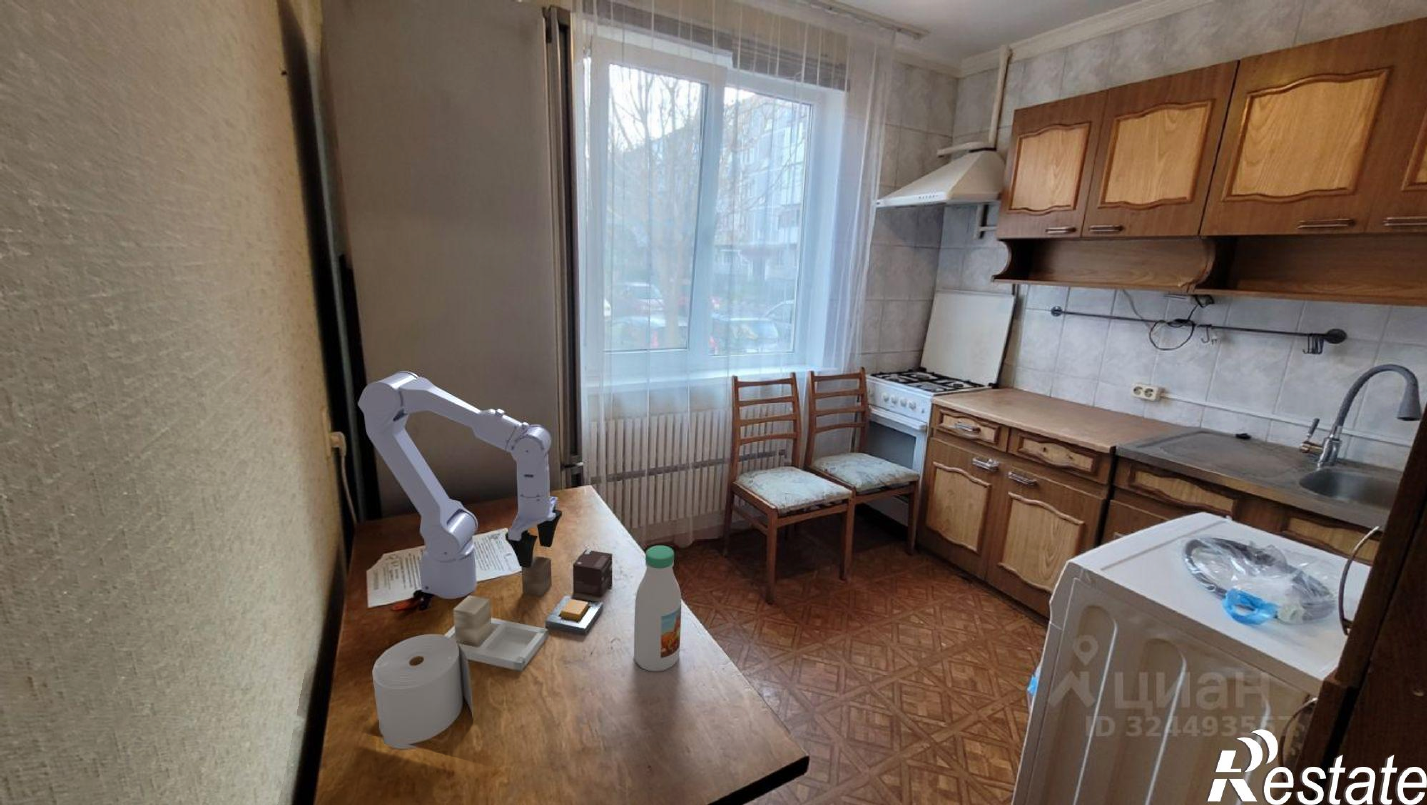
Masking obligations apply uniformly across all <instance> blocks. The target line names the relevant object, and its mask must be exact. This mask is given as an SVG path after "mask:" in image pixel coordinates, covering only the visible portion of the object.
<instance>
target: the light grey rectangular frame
mask: <svg viewBox="0 0 1427 805" xmlns="http://www.w3.org/2000/svg"><path fill="white" fill-rule="evenodd" d="M491 627H492V634H491V635H490V636H489V637H488V638H487V639H486V640H485V641H484V642H483V644H482V645H481V646H480V647H479V648H477V647H473V646H468V645H464V644H459V643H457V644H458V645H459V646H460V647H461V648H462V650H463V651H464V652H465V656H466V657H467V660H468V661H474V662H479V663H483V664H487V665H492V666H496V667H499V668H506V669H510V670H514V671H519V672H522V671H523V670H524V669H525V668H526V667H527V664H529V663H530V662H531V660H532V658H533V657H534V656H535V655H536V653H537V652H538V651H539V650H540V648H541V647H542V646H543V644H544V643H545V642H546V640H547V639H548V638H549V628H544V627H539V626H533V625H529V624H524V623H520V622H514V621H509V620H504V619H500V618H494V617H491ZM444 636H448V637H449V638H451V639H453V640H454V641H455V642H456V636H455V624H454V625H453V626H452V627H451V628H450V629H449V630H448V631H447V632H446V633H445V634H444Z"/></svg>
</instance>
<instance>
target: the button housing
mask: <svg viewBox="0 0 1427 805" xmlns="http://www.w3.org/2000/svg"><path fill="white" fill-rule="evenodd" d="M570 599H573V600H578V601H584V602H588V611H587V613H586V614H585V616H584V617H583V618H582V620H581V621H578V620H573V619H568V618H563V617H561V610H562V609H563V608H564V606H565V605H566V604H567V602H568V601H569V600H570ZM603 610H604V602H602V601H596V600H591V599H587V598H582V597H576V596H570V595H565V596H563V598H562V599H561V600H560V602H559V603H558V604H557V605H556V607H554V608H553V610H552V611H551V612H550V614H549V615H548V616H547V617H546V619H545V620H544V622H545V623H544V624H545V628H544V629H548V630H555V631H560V632H565V633H568V634H569V633H570V634H573V635H579V636H583V637H584V636H586V635H587V634H588V633H589V631H590V630H591V628H592V627H593V625H594V624H595V623H596V620H598V618H599V616H600V615H601V613H602V612H603Z"/></svg>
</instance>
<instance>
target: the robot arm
mask: <svg viewBox="0 0 1427 805" xmlns="http://www.w3.org/2000/svg"><path fill="white" fill-rule="evenodd" d="M357 405H358V407H359V409H360V410H361V411H362V413H363V416H364V424H365V431H366V435H367V436H368V438H369V440H370V441H371V443H372V444H373V446H374V447H375V448H376V450H377V452H378V453H379V455H380V456H381V458H382V459H383V461H384V462H385V464H386V465H387V466H388V468H389V470H390V471H391V473H392V474H393V475H394V477H395V479H396V481H398V483H399V484H400V486H401V487H402V489H403V491H404V493H406V496H407V497H408V498H409V499H410V501H411V503H412V504H413V506H414V508H415V509H416V511H417V512H418V513H419V515H420V517H421V518H420V527H419V534H420V535H421V536H422V539H423V540H424V547H425V551H424V552H423V554H422V556H421V558H420V562H419V566H418V567H419V578H420V588H421V592H423V593H427V594H432V595H435V596H437V597H439V598H440V599H445V600H446V599H448V600H453V599H458V598H463V597H466V596H469V594H471V593H472V592H474V591H475V589H476V588H477V585H478V583H477V570H476V569H477V568H476V567H477V566H476V558H475V557H476V554H475V543H474V541H473V540H474V538H473V536H474V535H475V534H476V532H477V531H478V527H479V523H478V519H477V517H476V516H475V515H474V513H472V512H471V511H469V510H468V509H467V508H465V507H464V506H463V504H462V502H461V501H458V500H454V499H451V498H450V497H449V495H448V494H447V493H446V491H445V489H444V488H443V486H442V484H441V483H440V481H439V480H438V479H437V477H436V476H435V474H434V472H433V471H432V469H431V468H430V466H429V465H428V463H427V462H426V460H425V458H424V457H423V456H422V453H420V451H419V449H418V448H417V446H416V444H415V443H414V441H413V440H412V438H411V437H410V435H409V433H408V431H406V428H405V427H406V424H407V421H408V419H409V416H410V414H413V413H419V412H424V411H429V412H431V413H434V414H436V415H439V416H441V417H443V418H446V419H449V420H452V421H454V422H457V423H458V424H459V423H460V424H462V425H463V426H466V427H469V428H471V429H472V431H473V434H474V436H475V437H476V438H478V439H480V440H482V441H484V442H486V443H488V444H490V445H493V446H494V447H497V448H498V449H501V450H503V451H505V452H508V453H510V455H511V457H512V459H513V460H514V462H516V484H517V508H518V512H517V513H516V516H515V517H514V518H515V519H514V520H513V523H512V524H511V526H510V527H509V528H508V529H507V532H506V533H505V534H504V537H505V541H506V542H507V543H508V544H509V545H510V546H511V549H512V550H513V552H514V554H515V556H516V559H517V562H518V563H517V564H518V565H519V567H526V568H530V567H531V565H532V560H533V556H534V549H535V544H536V542H537V539H538V542H539V545H540V547H545V548H551V547H552V544H553V541H554V537H555V533H556V529H557V526H558V524H559V521H560V519H561V517H562V515H563V511H562V510H561V509H557V508H558V507H559V498H558V497H556V496H551V491H550V466H549V454H548V451H549V450H550V448H551V445H552V436H551V434H550V432H549V431H548V429H546V428H544V427H543V426H542V425H541V424H529V423H527V422H525V421H524V422H521V421H518V420H517V419H515V418H513V417H510V416H508V415H506V414H505V413H506V412H505V410H503V409H500V408H497V409H496V410H495V409H493V408H489V409H486V410H480V409H479V408H476V407H475V406H473V405H471V404H469V403H467V402H466V401H464V400H462V399H460V398H458V397H456V396H454V395H452V394H450V393H448V392H447V391H446V390H443V389H441V388H439V387H437V386H436V385H434V384H433V383H432V382H431V381H430V380H429V379H427V378H425V377H424V376H423V377H422V376H418V375H417V374H415V373H414V372H411V371H407V370H402V371H397V372H395V373H393V375H390V376H388V377H385V378H383V379H381V380H378V381H373V382H371V383H369V384H368V385H366V386H365V387H364V388H363V390H362V393H361V395H360V397H359V400H358V401H357ZM534 527H536V528H537V533H538V534H537V535H534V534H531V533H530V532H529V529H531V528H534Z"/></svg>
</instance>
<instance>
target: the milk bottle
mask: <svg viewBox="0 0 1427 805" xmlns="http://www.w3.org/2000/svg"><path fill="white" fill-rule="evenodd" d="M674 560H675V552H674V550H673V549H672V548H671V547H669V546H666V545H654V546H651V547H648V549H646V552H645V560H644V561H645V563H644V564H645V567H646V569H645V572H644V575H643V577H642V579H641V581H640V582H639V584H638V586H637V590H636V593H635V600H634V601H635V602H634V625H633V627H634V632H633V633H634V634H633V658H634V659H635V662H636V663H637V665H638V666H639V667H640V668H642V669H644V670H646V671H648V672H662V671H665V670H668V669H670V668H672V667H673V666H674V665H675V664H676V663H677V662H678V660H679V658H680V650H681V648H680V647H681V646H680V645H681V628H682V627H681V625H682V592H681V588H680V586H679V583H678V580H677V579H676V576H675V574H674V570H673V566H674V564H675V563H674Z"/></svg>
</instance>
